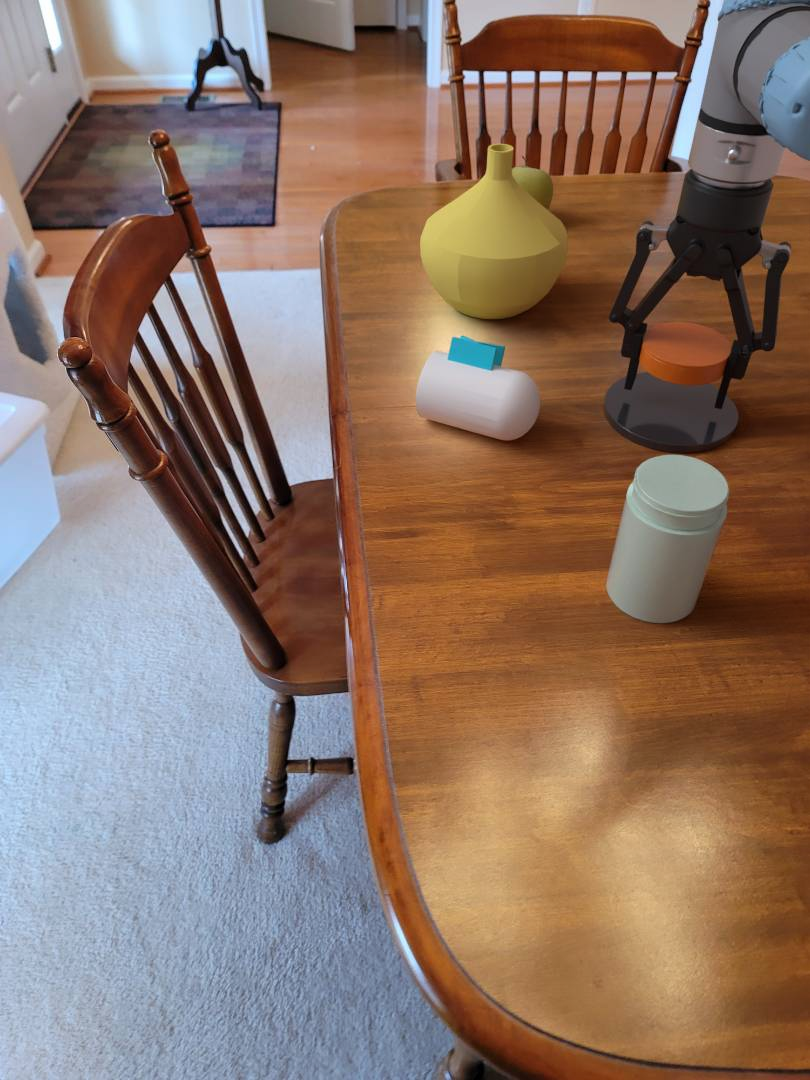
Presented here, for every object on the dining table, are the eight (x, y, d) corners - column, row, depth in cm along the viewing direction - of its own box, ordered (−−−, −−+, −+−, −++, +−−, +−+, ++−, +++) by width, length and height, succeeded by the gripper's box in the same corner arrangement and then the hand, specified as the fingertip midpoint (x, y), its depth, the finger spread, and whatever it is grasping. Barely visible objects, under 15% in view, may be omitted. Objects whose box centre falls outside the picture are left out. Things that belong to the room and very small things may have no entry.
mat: (742, 394, 93) (745, 386, 92) (727, 466, 84) (730, 458, 83) (618, 368, 97) (619, 361, 96) (590, 435, 88) (591, 427, 87)
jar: (702, 572, 73) (739, 464, 65) (689, 634, 68) (727, 525, 60) (616, 549, 75) (641, 442, 67) (597, 607, 70) (621, 499, 62)
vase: (553, 270, 115) (571, 122, 102) (567, 337, 102) (591, 178, 89) (420, 269, 116) (422, 121, 103) (418, 336, 103) (419, 176, 89)
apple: (522, 233, 122) (516, 159, 117) (493, 230, 128) (487, 159, 124) (566, 223, 125) (563, 150, 120) (536, 220, 131) (531, 151, 127)
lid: (650, 333, 90) (654, 314, 89) (732, 351, 88) (738, 332, 86) (629, 373, 85) (633, 353, 83) (716, 394, 82) (722, 374, 80)
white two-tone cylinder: (540, 362, 79) (426, 334, 83) (519, 453, 83) (410, 422, 86) (570, 352, 89) (467, 327, 93) (550, 433, 93) (451, 406, 97)
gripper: (599, 171, 73) (566, 389, 89) (861, 207, 67) (777, 434, 83) (617, 144, 78) (583, 355, 94) (862, 175, 72) (782, 395, 88)
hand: (674, 392), depth 89 cm, fingers closed on lid, 9 cm apart
